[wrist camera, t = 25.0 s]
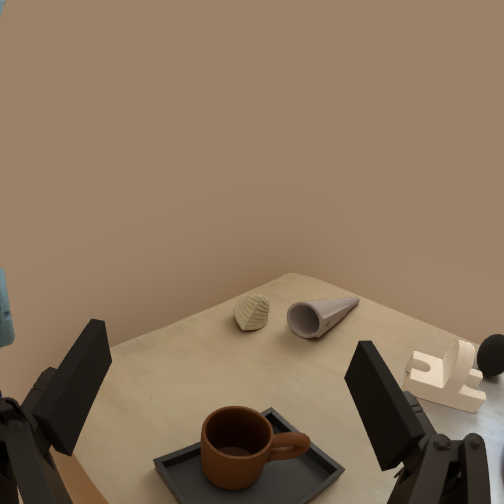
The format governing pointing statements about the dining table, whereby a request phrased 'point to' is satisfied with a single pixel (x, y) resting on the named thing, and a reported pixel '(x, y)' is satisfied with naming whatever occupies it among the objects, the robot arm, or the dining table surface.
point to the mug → (243, 446)
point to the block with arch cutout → (446, 378)
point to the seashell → (252, 312)
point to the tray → (265, 488)
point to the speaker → (491, 355)
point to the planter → (318, 315)
